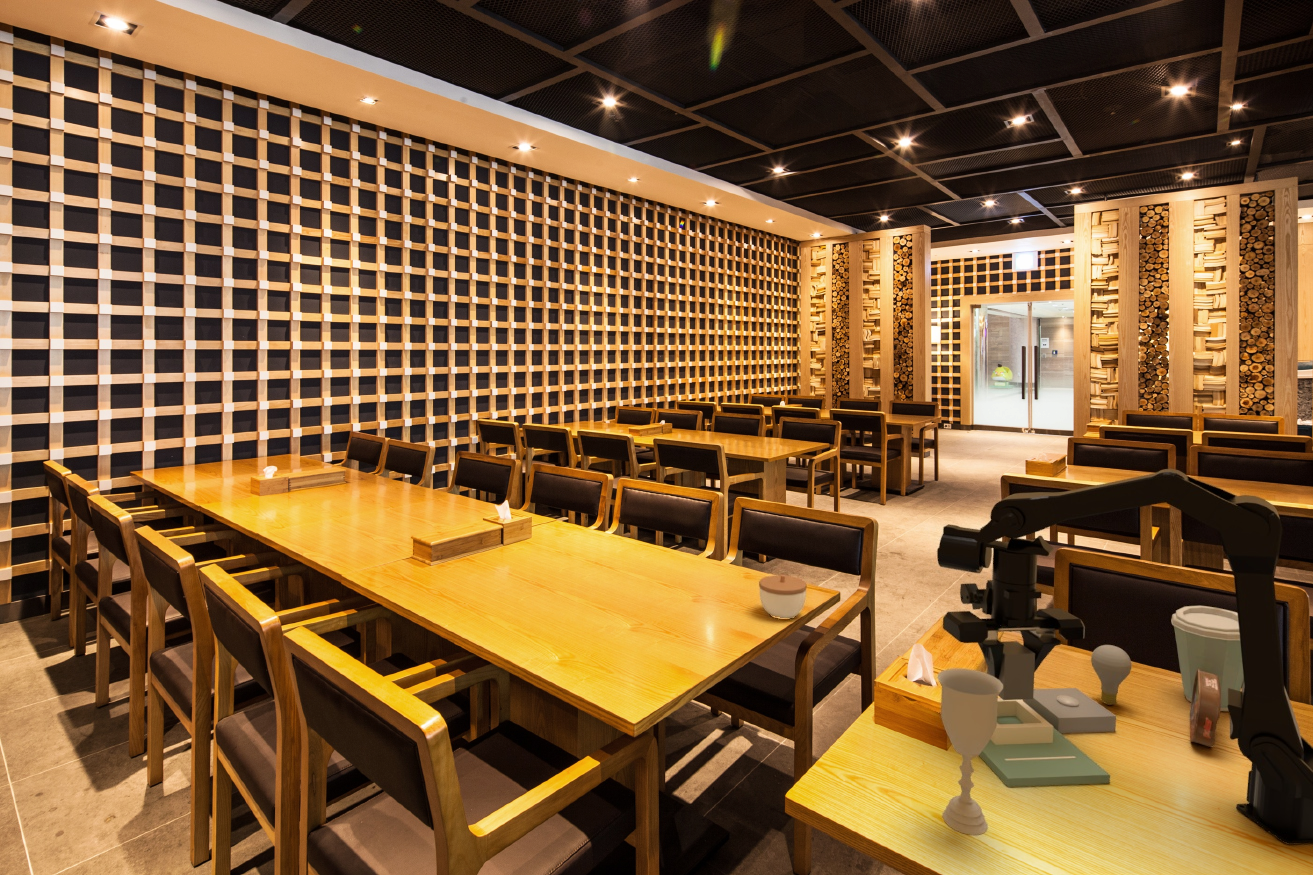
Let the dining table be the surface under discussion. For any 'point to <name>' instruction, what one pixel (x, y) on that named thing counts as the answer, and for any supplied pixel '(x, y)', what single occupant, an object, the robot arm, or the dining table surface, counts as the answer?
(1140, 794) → the dining table surface
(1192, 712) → the tin
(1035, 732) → the board
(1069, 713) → the grey domed button plate
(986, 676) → the chalice
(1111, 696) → the light bulb
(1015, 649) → the plug
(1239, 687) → the disposable coffee cup
